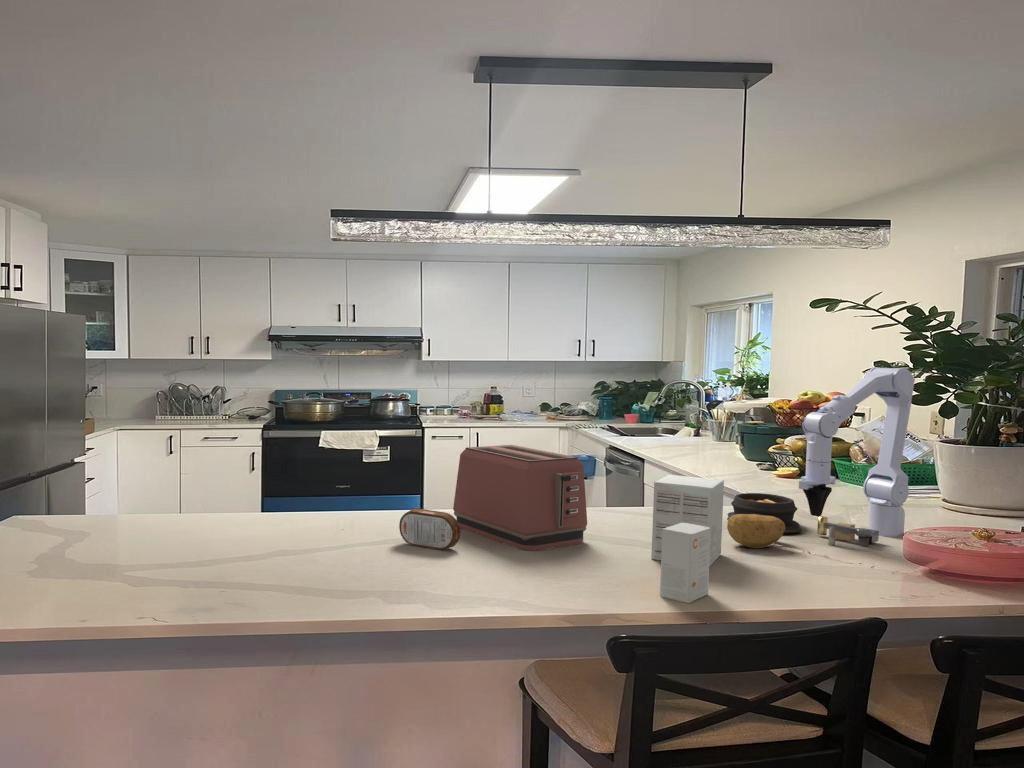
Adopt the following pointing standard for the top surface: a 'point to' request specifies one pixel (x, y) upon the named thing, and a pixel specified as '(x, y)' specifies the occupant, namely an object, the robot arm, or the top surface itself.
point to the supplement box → (688, 508)
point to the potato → (755, 529)
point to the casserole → (767, 508)
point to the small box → (685, 562)
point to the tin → (429, 529)
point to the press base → (861, 540)
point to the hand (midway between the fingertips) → (815, 515)
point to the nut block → (845, 533)
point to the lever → (846, 529)
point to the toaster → (521, 496)
